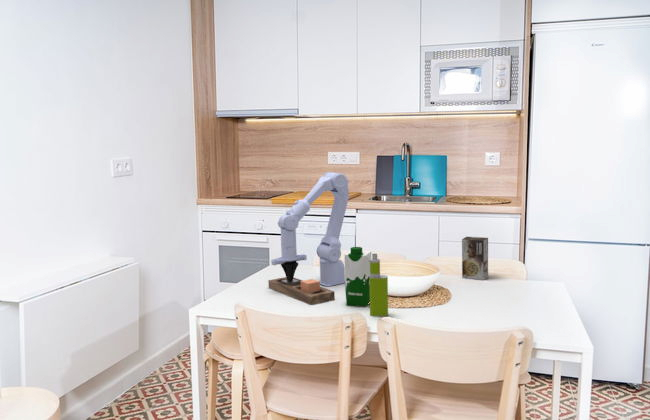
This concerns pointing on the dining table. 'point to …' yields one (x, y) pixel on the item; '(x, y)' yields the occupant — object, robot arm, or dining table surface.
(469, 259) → the coffee box
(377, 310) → the vape
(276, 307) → the dining table surface
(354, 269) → the milk carton
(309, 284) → the salmon pink cube
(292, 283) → the silver metal block
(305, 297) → the brown ladder-shaped frame
